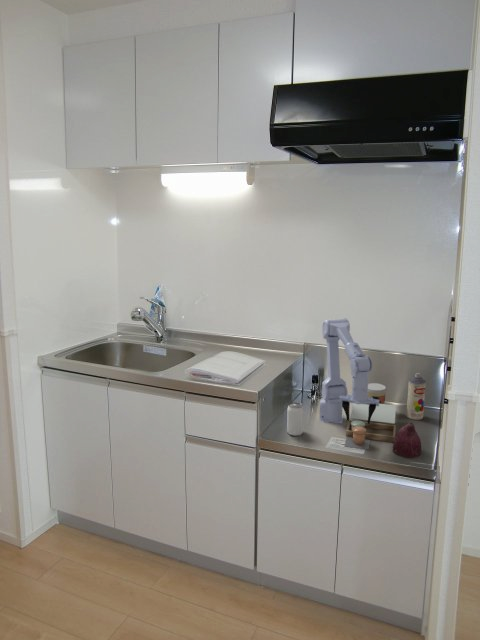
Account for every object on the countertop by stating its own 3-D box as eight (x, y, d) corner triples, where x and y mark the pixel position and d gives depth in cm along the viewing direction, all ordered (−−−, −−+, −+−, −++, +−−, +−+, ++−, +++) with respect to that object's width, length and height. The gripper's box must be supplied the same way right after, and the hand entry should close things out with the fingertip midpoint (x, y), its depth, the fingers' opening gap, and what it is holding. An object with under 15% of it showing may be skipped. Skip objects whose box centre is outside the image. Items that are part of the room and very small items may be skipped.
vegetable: (421, 467, 180) (431, 436, 173) (392, 461, 182) (401, 430, 174) (418, 447, 189) (428, 416, 182) (390, 442, 191) (399, 411, 184)
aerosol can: (412, 421, 210) (415, 377, 205) (403, 415, 216) (405, 371, 212) (426, 419, 212) (429, 375, 207) (416, 413, 218) (419, 370, 214)
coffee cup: (374, 418, 214) (375, 392, 211) (358, 410, 222) (359, 385, 219) (389, 413, 219) (391, 387, 216) (374, 406, 227) (375, 381, 224)
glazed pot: (350, 434, 198) (350, 425, 197) (351, 429, 203) (351, 419, 202) (363, 436, 196) (364, 427, 195) (365, 430, 201) (365, 421, 200)
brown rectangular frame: (345, 437, 197) (346, 424, 196) (351, 417, 215) (351, 405, 214) (394, 443, 191) (395, 430, 190) (396, 422, 209) (396, 410, 208)
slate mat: (344, 447, 189) (344, 446, 189) (346, 438, 196) (346, 436, 196) (368, 450, 186) (368, 449, 186) (370, 441, 193) (370, 440, 193)
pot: (350, 444, 190) (351, 431, 189) (353, 438, 195) (353, 425, 193) (364, 446, 188) (364, 433, 187) (366, 440, 193) (367, 427, 191)
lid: (353, 400, 215) (353, 401, 215) (350, 418, 207) (350, 418, 207) (396, 405, 210) (395, 406, 210) (394, 423, 202) (394, 424, 202)
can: (294, 427, 206) (294, 400, 203) (306, 432, 202) (306, 404, 199) (283, 432, 202) (284, 405, 199) (296, 437, 197) (296, 409, 195)
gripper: (338, 389, 184) (337, 423, 188) (379, 393, 180) (377, 428, 183) (341, 382, 191) (340, 415, 194) (380, 386, 186) (378, 420, 190)
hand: (358, 421), depth 189 cm, fingers open, 7 cm apart
